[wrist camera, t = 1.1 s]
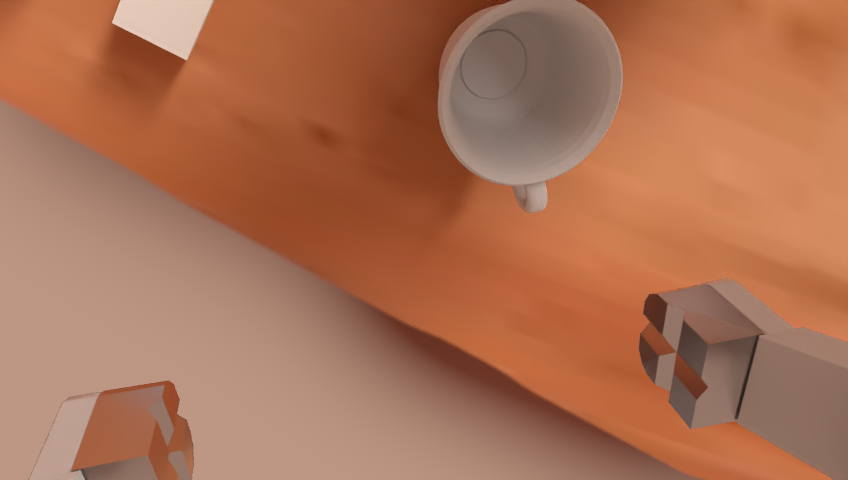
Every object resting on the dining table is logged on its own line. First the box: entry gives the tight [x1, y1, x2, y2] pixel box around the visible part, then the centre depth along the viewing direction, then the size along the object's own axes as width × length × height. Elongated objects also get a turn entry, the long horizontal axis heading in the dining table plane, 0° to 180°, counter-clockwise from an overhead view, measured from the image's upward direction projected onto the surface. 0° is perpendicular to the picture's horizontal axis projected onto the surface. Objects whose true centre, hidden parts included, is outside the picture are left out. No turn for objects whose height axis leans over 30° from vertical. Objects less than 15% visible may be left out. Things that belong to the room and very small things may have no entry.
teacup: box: [438, 0, 623, 213], centre depth 43 cm, size 12×15×10 cm
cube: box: [112, 0, 215, 60], centre depth 39 cm, size 4×4×4 cm
